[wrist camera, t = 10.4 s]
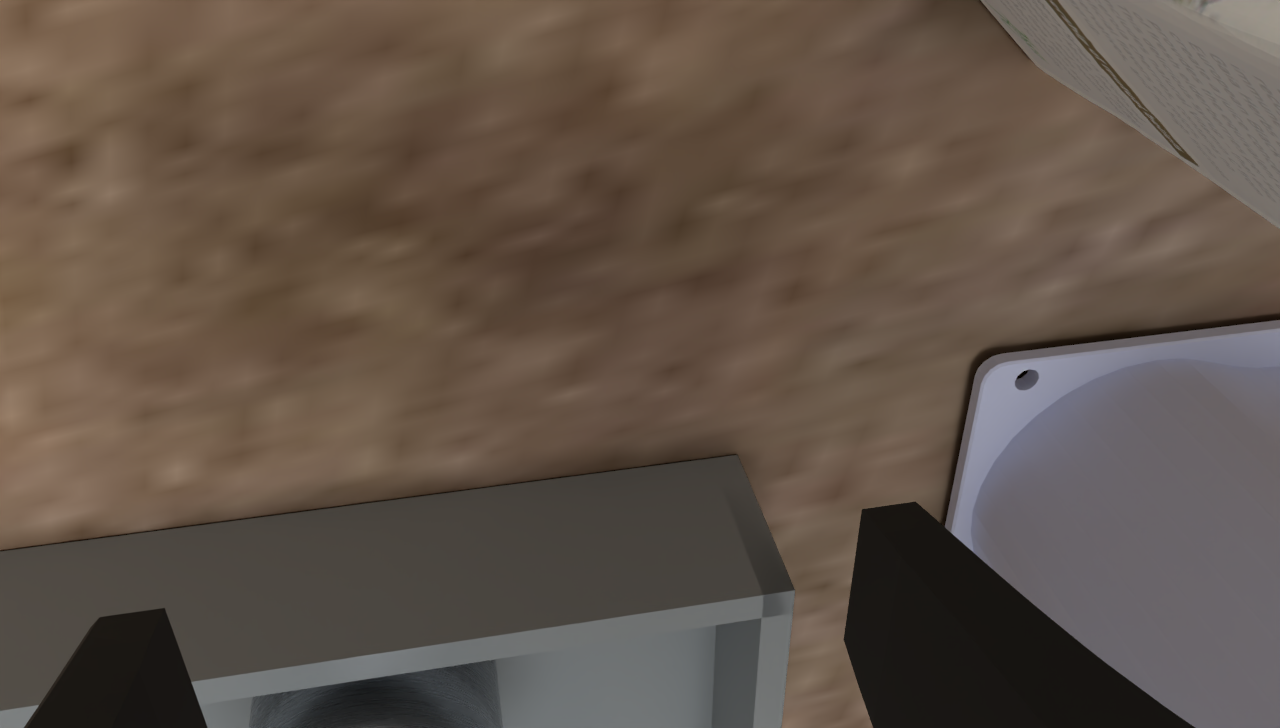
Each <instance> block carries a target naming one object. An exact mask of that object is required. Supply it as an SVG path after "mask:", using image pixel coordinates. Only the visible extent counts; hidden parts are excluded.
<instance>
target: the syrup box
mask: <svg viewBox="0 0 1280 728" xmlns="http://www.w3.org/2000/svg"><path fill="white" fill-rule="evenodd" d="M980 1H981V2H982V3H983V4H984V5H985V6H986V8H987V9H988V10H989V11H990V12H991V13H992V15H993V16H994V17H995V18H996V19H997V21H998V22H999V23H1000V24H1001V25H1002V26H1003V28H1004V29H1005V30H1006V31H1007V32H1008V33H1009V35H1010V36H1011V37H1012V38H1013V39H1014V40H1015V42H1016V43H1017V44H1018V45H1019V46H1020V47H1021V49H1022V50H1023V51H1024V52H1025V53H1026V54H1027V56H1028V57H1029V58H1030V59H1031V60H1032V61H1033V63H1034V64H1035V65H1036V66H1037V67H1038V68H1040V69H1041V70H1042V71H1044V72H1045V73H1047V74H1048V75H1050V76H1051V77H1053V78H1054V79H1056V80H1057V81H1059V82H1060V83H1062V84H1063V85H1065V86H1066V87H1068V88H1069V89H1071V90H1073V91H1074V92H1076V93H1077V94H1079V95H1080V96H1082V97H1084V98H1085V99H1087V100H1088V101H1090V102H1092V103H1094V104H1095V105H1097V106H1099V107H1101V108H1102V109H1104V110H1106V111H1108V112H1109V113H1111V114H1113V115H1114V116H1116V117H1118V118H1119V119H1120V120H1122V121H1123V122H1125V123H1126V124H1128V125H1129V126H1131V127H1133V128H1135V129H1136V130H1137V131H1139V132H1140V133H1141V134H1143V135H1144V136H1145V137H1147V138H1148V139H1150V140H1151V141H1153V142H1154V143H1156V144H1157V145H1159V146H1160V147H1162V148H1163V149H1165V150H1167V151H1168V152H1170V153H1171V154H1173V155H1174V156H1176V157H1178V158H1179V159H1181V160H1182V161H1184V162H1185V163H1186V164H1188V165H1189V166H1190V167H1192V168H1193V169H1195V170H1196V171H1198V172H1199V173H1201V174H1202V175H1204V176H1205V177H1206V178H1208V179H1209V180H1211V181H1212V182H1214V183H1215V184H1217V185H1218V186H1219V187H1221V188H1222V189H1224V190H1225V191H1226V192H1228V193H1229V194H1231V195H1232V196H1233V197H1235V198H1236V199H1238V200H1239V201H1240V202H1242V203H1243V204H1245V205H1246V206H1248V207H1249V208H1250V209H1252V210H1253V211H1255V212H1256V213H1258V214H1259V215H1260V216H1262V217H1263V218H1265V219H1266V220H1268V221H1269V222H1270V223H1272V224H1273V225H1275V226H1276V227H1277V228H1279V229H1280V0H980Z"/></svg>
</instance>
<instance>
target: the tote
mask: <svg viewBox="0 0 1280 728" xmlns="http://www.w3.org/2000/svg"><path fill="white" fill-rule="evenodd" d="M794 596H795V589H794V587H793V584H792V582H791V580H790V577H789V575H788V572H787V570H786V568H785V565H784V563H783V561H782V558H781V556H780V554H779V551H778V549H777V547H776V544H775V542H774V539H773V537H772V535H771V532H770V530H769V528H768V525H767V523H766V521H765V518H764V516H763V513H762V511H761V509H760V506H759V504H758V502H757V499H756V497H755V495H754V492H753V490H752V488H751V485H750V483H749V480H748V478H747V476H746V473H745V471H744V469H743V466H742V464H741V462H740V459H739V457H738V455H733V456H725V457H717V458H710V459H702V460H695V461H687V462H679V463H672V464H664V465H656V466H649V467H641V468H634V469H626V470H618V471H611V472H603V473H595V474H588V475H580V476H572V477H565V478H557V479H550V480H542V481H534V482H527V483H519V484H511V485H504V486H496V487H489V488H481V489H473V490H466V491H458V492H450V493H443V494H435V495H427V496H420V497H412V498H405V499H397V500H389V501H382V502H374V503H366V504H359V505H351V506H344V507H336V508H328V509H321V510H313V511H305V512H298V513H290V514H283V515H275V516H267V517H260V518H252V519H244V520H237V521H229V522H221V523H214V524H206V525H199V526H191V527H183V528H176V529H168V530H160V531H153V532H145V533H138V534H130V535H122V536H115V537H107V538H99V539H92V540H84V541H76V542H69V543H61V544H54V545H46V546H38V547H31V548H23V549H15V550H8V551H0V728H24V727H25V725H26V724H27V722H28V721H29V719H30V718H31V716H32V715H33V713H34V712H35V710H36V709H37V708H38V706H39V705H40V703H41V702H42V700H43V699H44V697H45V696H46V694H47V693H48V691H49V690H50V688H51V687H52V685H53V684H54V682H55V681H56V679H57V677H58V676H59V674H60V673H61V671H62V670H63V668H64V667H65V665H66V664H67V662H68V661H69V659H70V658H71V656H72V655H73V653H74V652H75V650H76V649H77V647H78V645H79V644H80V642H81V641H82V639H83V638H84V636H85V635H86V633H87V632H88V630H89V629H90V627H91V626H92V625H93V624H94V623H95V622H96V621H97V619H98V618H99V617H104V616H111V615H118V614H125V613H132V612H139V611H146V610H153V609H160V608H165V610H166V613H167V616H168V618H169V621H170V624H171V627H172V629H173V632H174V635H175V638H176V641H177V643H178V646H179V649H180V652H181V655H182V657H183V660H184V663H185V666H186V669H187V671H188V674H189V677H190V680H191V682H192V685H193V688H194V691H195V694H196V696H197V699H198V702H199V705H200V708H201V710H202V713H203V716H204V719H205V722H206V724H207V727H208V728H249V721H250V713H251V704H252V697H256V696H262V695H268V694H275V693H281V692H288V691H294V690H301V689H307V688H314V687H320V686H327V685H333V684H339V683H346V682H352V681H359V680H365V679H372V678H378V677H385V676H391V675H398V674H404V673H410V672H417V671H423V670H430V669H436V668H443V667H449V666H456V665H462V664H469V663H475V662H481V661H488V660H494V659H496V668H497V677H498V687H499V696H500V705H501V714H502V723H503V728H781V726H782V716H783V706H784V696H785V686H786V676H787V666H788V656H789V646H790V636H791V626H792V616H793V606H794Z"/></svg>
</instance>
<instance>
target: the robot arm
mask: <svg viewBox="0 0 1280 728" xmlns="http://www.w3.org/2000/svg"><path fill="white" fill-rule="evenodd" d="M1026 370H1028V372H1027V374H1026V375H1024V376H1023V377H1022V378H1019V379H1017V380H1016V378H1017V376H1018V375H1020V374H1021V373H1022V372H1023V371H1026ZM844 642H845V645H846V648H847V651H848V654H849V657H850V660H851V663H852V666H853V670H854V673H855V676H856V679H857V682H858V685H859V688H860V691H861V694H862V697H863V700H864V702H865V705H866V708H867V711H868V714H869V717H870V720H871V722H872V725H873V728H1280V320H1275V321H1267V322H1259V323H1250V324H1242V325H1234V326H1226V327H1217V328H1209V329H1201V330H1193V331H1184V332H1176V333H1168V334H1160V335H1151V336H1143V337H1135V338H1127V339H1118V340H1110V341H1102V342H1094V343H1085V344H1077V345H1069V346H1061V347H1052V348H1044V349H1036V350H1028V351H1019V352H1011V353H1003V354H998V355H995V356H992V357H990V358H989V359H987V360H986V361H984V362H983V363H982V364H981V366H980V367H979V368H978V369H977V372H976V374H975V377H974V382H973V387H972V392H971V397H970V402H969V407H968V412H967V418H966V423H965V428H964V433H963V438H962V443H961V448H960V453H959V458H958V463H957V468H956V473H955V478H954V483H953V488H952V493H951V498H950V503H949V508H948V513H947V518H946V523H945V527H944V526H943V525H942V524H940V523H939V522H938V521H937V520H936V519H935V518H934V517H932V516H931V515H930V514H929V513H928V512H927V511H925V510H924V509H923V508H922V507H921V506H920V505H919V504H917V503H916V502H910V503H903V504H896V505H889V506H882V507H875V508H868V509H862V513H861V521H860V528H859V535H858V542H857V549H856V556H855V563H854V571H853V578H852V585H851V592H850V599H849V606H848V613H847V621H846V628H845V635H844ZM24 728H208V727H207V724H206V722H205V719H204V716H203V713H202V710H201V708H200V705H199V702H198V699H197V696H196V694H195V691H194V688H193V685H192V682H191V680H190V677H189V674H188V671H187V669H186V666H185V663H184V660H183V657H182V655H181V652H180V649H179V646H178V643H177V641H176V638H175V635H174V632H173V629H172V627H171V624H170V621H169V618H168V616H167V613H166V610H165V608H160V609H153V610H146V611H139V612H132V613H125V614H118V615H111V616H104V617H99V618H98V619H97V621H96V622H95V623H94V624H93V625H92V626H91V627H90V629H89V630H88V632H87V633H86V635H85V636H84V638H83V639H82V641H81V642H80V644H79V645H78V647H77V649H76V650H75V652H74V653H73V655H72V656H71V658H70V659H69V661H68V662H67V664H66V665H65V667H64V668H63V670H62V671H61V673H60V674H59V676H58V677H57V679H56V681H55V682H54V684H53V685H52V687H51V688H50V690H49V691H48V693H47V694H46V696H45V697H44V699H43V700H42V702H41V703H40V705H39V706H38V708H37V709H36V710H35V712H34V713H33V715H32V716H31V718H30V719H29V721H28V722H27V724H26V725H25V727H24Z"/></svg>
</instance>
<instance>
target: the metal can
mask: <svg viewBox="0 0 1280 728" xmlns="http://www.w3.org/2000/svg"><path fill="white" fill-rule="evenodd" d="M249 728H503V723H502V714H501V705H500V696H499V687H498V677H497V668H496V659H494V660H488V661H481V662H475V663H469V664H462V665H456V666H449V667H443V668H436V669H430V670H423V671H417V672H410V673H404V674H398V675H391V676H385V677H378V678H372V679H365V680H359V681H352V682H346V683H339V684H333V685H327V686H320V687H314V688H307V689H301V690H294V691H288V692H281V693H275V694H268V695H262V696H256V697H252V704H251V713H250V721H249Z"/></svg>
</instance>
